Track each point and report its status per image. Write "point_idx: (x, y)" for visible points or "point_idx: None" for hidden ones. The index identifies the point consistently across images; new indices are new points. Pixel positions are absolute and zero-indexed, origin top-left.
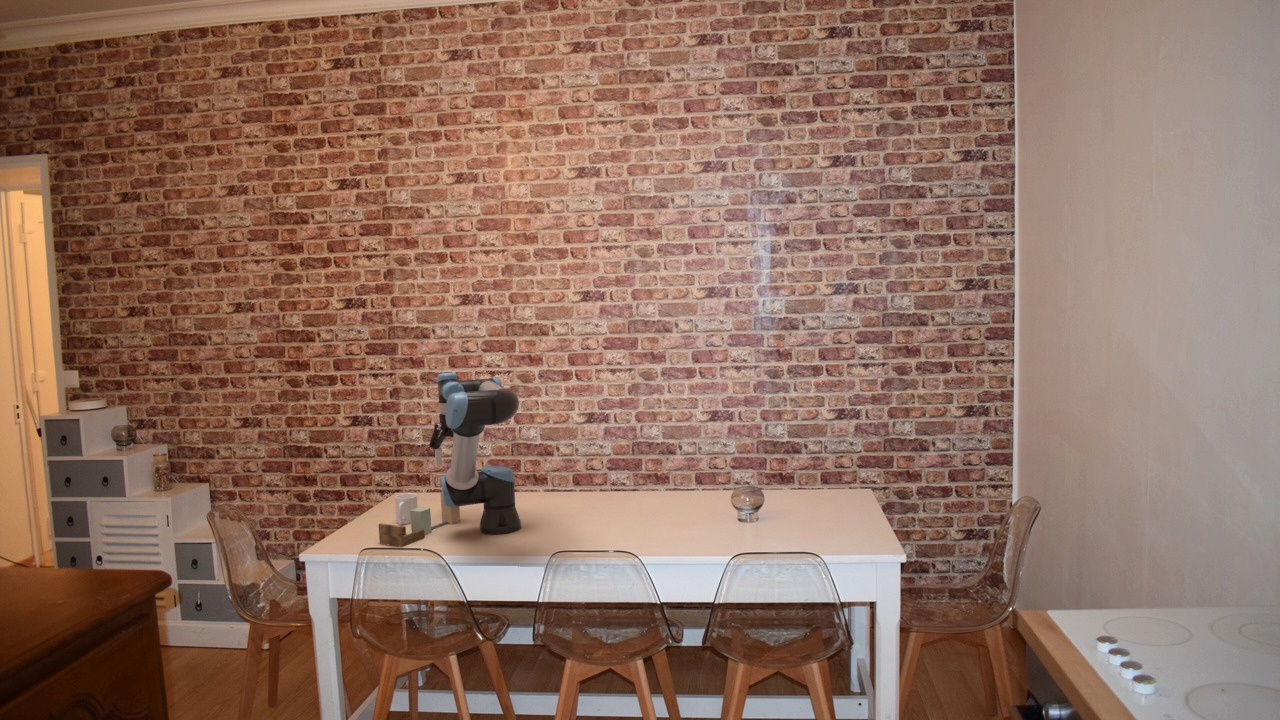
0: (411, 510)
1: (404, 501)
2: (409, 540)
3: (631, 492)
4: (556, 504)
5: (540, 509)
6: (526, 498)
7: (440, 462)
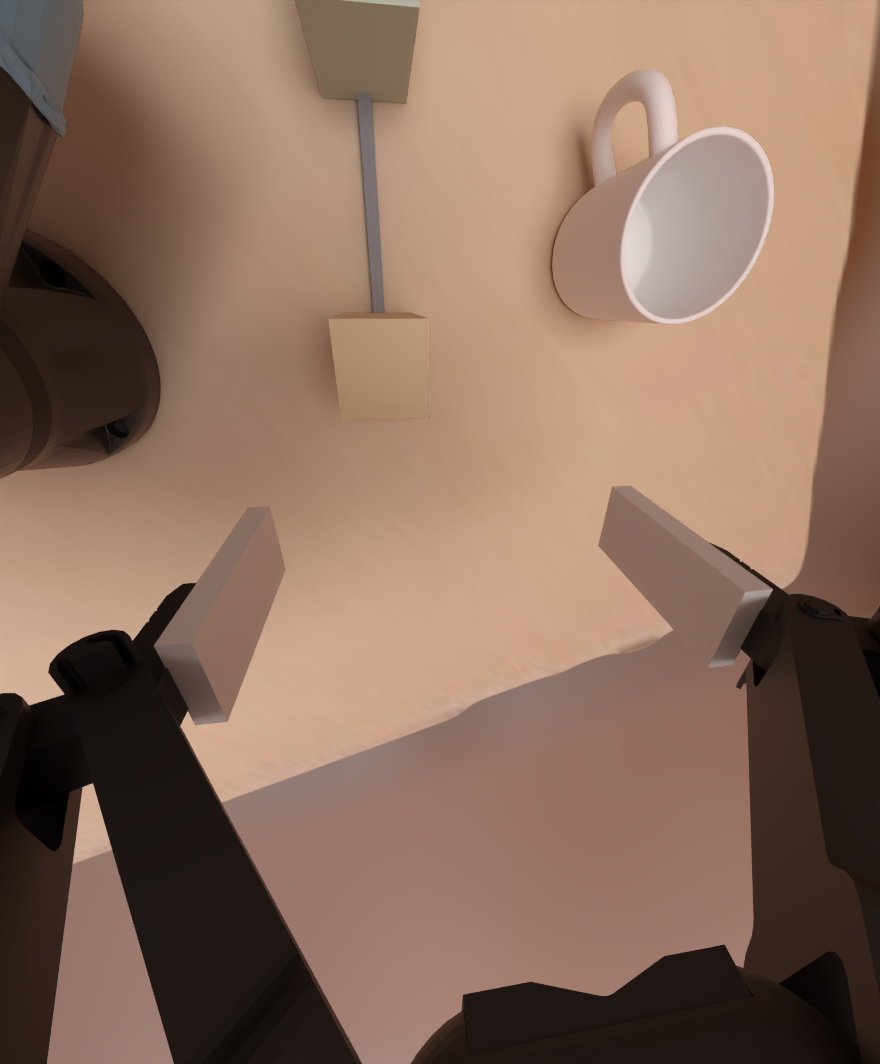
0: None
1: (658, 153)
2: None
3: None
4: None
5: None
6: (360, 693)
7: (612, 542)
